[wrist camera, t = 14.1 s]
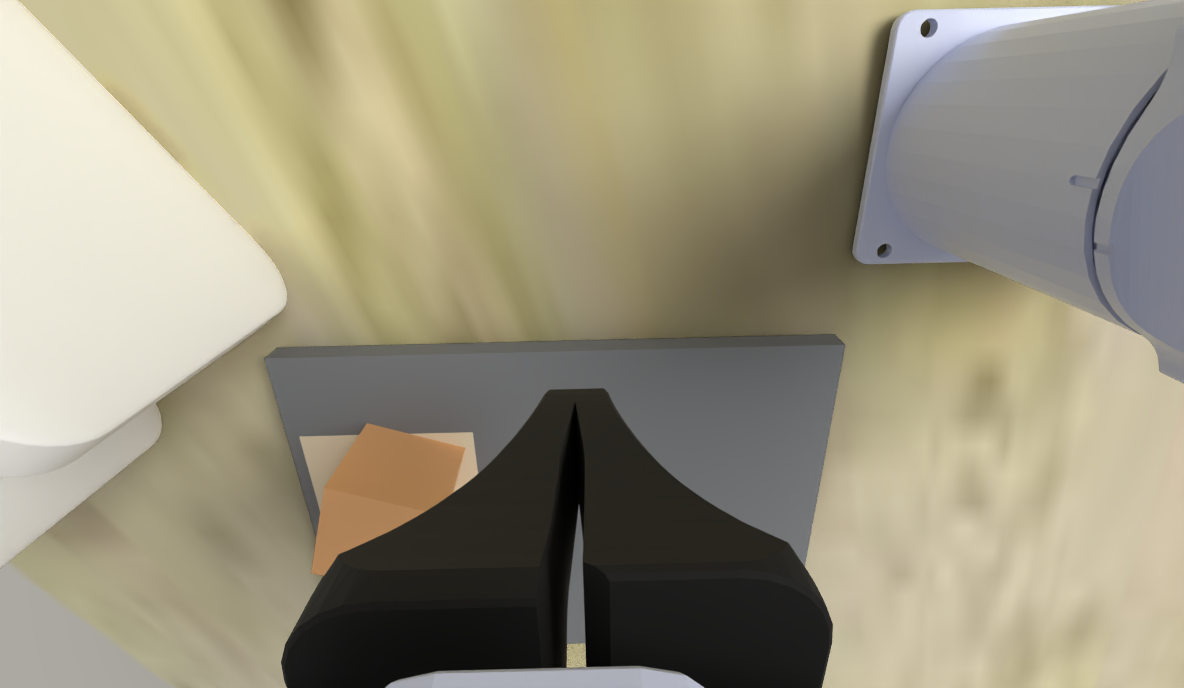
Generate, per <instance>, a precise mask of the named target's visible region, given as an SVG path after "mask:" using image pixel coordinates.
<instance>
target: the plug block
mask: <svg viewBox="0 0 1184 688" xmlns="http://www.w3.org/2000/svg"><path fill="white" fill-rule="evenodd" d="M464 451H465V448H464V447H460V446H456V445H452V444H448V443H444V442H440V441H436V440H432V439H428V438H424V437H420V436H416V435H412V434H408V433H404V432H401V431H397V430H393V429H389V428H385V427H381V426H377V425H373V424H369V423H367V424H366V425H365V427H364V428H363V430H362V431H361V433H360V434H359V436H358V437H357V439H356V440H355V442H354V443H353V445H352V446H351V448H350V449H349V451H348V452H347V454H346V455H345V457H344V458H343V460H342V461H341V463H340V464H339V466H338V467H337V469H336V470H335V472H334V473H333V475H332V476H331V478H330V479H329V481H328V482H327V484H326V485H325V487H324V491H323V498H322V504H321V511H320V517H319V524H318V531H317V537H316V544H315V551H314V557H313V564H312V571H311V573H313V574H318V575H323V576H324V575H325V574H326V572H327V571H328V569H329V568H330V566H331V565H332V564H333V562H334V560H335V559H336V557H337V556H338V554H340V553H343V552H345V551H348V550H350V549H352V548H354V547H356V546H359V545H361V544H363V543H365V542H367V541H370V540H372V539H374V538H376V537H378V536H381V535H383V534H385V533H387V532H389V531H391V530H393V529H395V528H397V527H399V526H401V525H402V524H404V523H406V522H408V521H410V520H411V519H413V518H415V517H417V516H419V515H420V514H422V513H424V512H425V511H427V510H428V509H430V508H432V507H433V506H435V505H436V504H438V503H439V502H441V501H442V500H444V499H445V498H447V497H448V496H449V495H451V494H452V493H453V492H454V489H455V485H456V481H457V477H458V474H459V470H460V466H461V463H462V459H463V455H464Z"/></svg>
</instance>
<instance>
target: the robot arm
mask: <svg viewBox="0 0 1184 688" xmlns="http://www.w3.org/2000/svg"><path fill="white" fill-rule="evenodd" d="M925 20H927V21H928V22H929V23H930V31H929V34H928V35H927V36H926V37H923V36H922V35H921V32H920V28H921V25H922V23H923V22H924V21H925ZM882 244H886V250H885V252H884V253H882V254H881V255H877V250H878V248H879V247H880V246H881V245H882ZM852 250H853V256H854V258H855V259H856V260H858V261H859V262H861V263H863V264H901V263H944V262H971V263H974V264H976V265H978V266H981V267H983V268H985V269H988V270H990V271H992V272H995V273H997V274H999V275H1002V276H1004V277H1006V278H1009V279H1011V280H1013V281H1016V282H1018V283H1020V284H1023V285H1025V286H1027V287H1030V288H1032V289H1034V290H1037V291H1039V292H1041V293H1044V294H1046V295H1049V296H1051V297H1053V298H1056V299H1058V300H1060V301H1063V302H1065V303H1067V304H1070V305H1072V306H1074V307H1077V308H1079V309H1081V310H1084V311H1086V312H1088V313H1091V314H1093V315H1095V316H1098V317H1100V318H1102V319H1105V320H1107V321H1109V322H1112V323H1114V324H1116V325H1119V326H1121V327H1123V328H1126V329H1128V330H1130V331H1133V332H1135V333H1137V334H1140V335H1142V336H1143V337H1145V338H1146V339H1147V340H1149V341H1150V342H1151V344H1152V345H1153V347H1154V348H1155V350H1156V353H1157V355H1158V361H1159V371H1160V372H1161V373H1163V374H1165V375H1167V376H1169V377H1171V378H1173V379H1175V380H1178V381H1180V382H1182V383H1184V0H1150V1H1144V2H1138V3H1132V4H1126V5H1110V6H1064V7H1018V8H972V9H926V10H912V11H908V12H904V13H903V14H901V15H900V16H898V17H897V19H896V20H895V21H894V23H893V25H892V28H891V32H890V38H889V44H888V50H887V55H886V61H885V67H884V72H883V78H882V84H881V89H880V95H879V101H878V106H877V112H876V118H875V124H874V129H873V135H872V141H871V146H870V152H869V158H868V163H867V169H866V175H865V181H864V186H863V192H862V198H861V203H860V209H859V215H858V220H857V226H856V232H855V238H854V243H853V249H852ZM579 507H580V516H581V526H582V535H583V587H584V614H585V642H586V667H576V668H566V662H567V610H568V596H569V585H570V577H571V568H572V560H573V551H574V543H575V534H576V526H577V517H578V508H579ZM832 630H833V624H832V621H831V618H830V615H829V613H828V610H827V607H826V605H825V603H824V600H823V598H822V596H821V594H820V592H819V590H818V588H817V586H816V584H815V583H814V581H813V579H812V578H811V576H810V575H809V573H808V571H807V570H806V568H805V567H804V565H803V563H802V562H801V560H800V559H799V557H798V556H797V554H796V553H795V551H794V550H793V548H792V547H791V545H790V544H789V543H788V542H786V541H784V540H782V539H779V538H777V537H775V536H773V535H771V534H768V533H766V532H764V531H762V530H759V529H757V528H755V527H753V526H751V525H748V524H746V523H744V522H742V521H740V520H739V519H737V518H735V517H733V516H731V515H730V514H728V513H726V512H724V511H722V510H721V509H719V508H717V507H716V506H714V505H712V504H711V503H709V502H708V501H706V500H705V499H703V498H702V497H700V496H699V495H697V494H696V493H695V492H693V491H692V490H690V489H689V488H688V487H686V486H685V485H683V484H682V483H681V482H680V481H678V480H677V479H676V478H675V477H674V476H672V475H671V474H670V473H669V472H668V471H667V470H666V469H665V468H664V467H663V466H662V465H661V464H660V463H659V462H658V461H657V460H656V459H655V458H654V457H653V456H652V455H651V454H650V453H649V452H648V451H647V449H646V448H645V447H644V446H643V445H642V444H641V442H640V441H639V440H638V439H637V438H636V436H635V435H634V434H633V432H632V431H631V430H630V428H629V427H628V426H627V424H626V423H625V421H624V420H623V419H622V417H621V416H620V414H619V412H618V411H617V409H616V407H615V406H614V404H613V402H612V400H611V398H610V396H609V393H608V392H607V391H606V390H605V389H604V388H594V389H552V390H548V391H547V392H546V393H545V394H544V396H543V398H542V399H541V401H540V402H539V404H538V405H537V407H536V408H535V410H534V411H533V413H532V414H531V416H530V417H529V418H528V420H527V421H526V422H525V423H524V425H523V426H522V427H521V429H520V430H519V431H518V432H517V434H516V435H515V436H514V437H513V439H512V440H511V441H510V442H509V443H508V444H507V445H506V446H505V447H504V448H503V450H502V451H501V452H500V453H499V454H498V455H497V456H496V457H495V458H494V459H493V460H492V461H491V462H490V463H489V464H488V465H487V466H486V467H485V468H484V469H483V470H482V471H481V472H479V473H478V474H477V475H476V476H475V477H474V478H472V479H471V480H470V481H469V482H467V483H466V484H465V485H463V486H462V487H461V488H459V489H458V490H456V491H455V492H454V493H452V494H451V495H449V496H448V497H447V498H445V499H444V500H442V501H441V502H439V503H438V504H436V505H435V506H433V507H432V508H430V509H428V510H427V511H425V512H424V513H422V514H420V515H419V516H417V517H415V518H413V519H411V520H410V521H408V522H406V523H404V524H402V525H401V526H399V527H397V528H395V529H393V530H391V531H389V532H387V533H385V534H383V535H381V536H378V537H376V538H374V539H372V540H370V541H367V542H365V543H363V544H361V545H359V546H356V547H354V548H352V549H350V550H348V551H345V552H343V553H340V554H338V556H337V557H336V559H335V560H334V562H333V564H332V565H331V566H330V568H329V569H328V571H327V572H326V574H325V575H324V576H323V578H322V579H321V581H320V583H319V584H318V586H317V588H316V589H315V591H314V593H313V594H312V596H311V598H310V600H309V602H308V603H307V605H306V607H305V609H304V611H303V613H302V615H301V616H300V618H299V620H298V622H297V624H296V626H295V627H294V629H293V631H292V633H291V635H290V637H289V638H288V640H287V642H286V644H285V648H284V652H283V657H282V661H281V664H282V670H283V676H284V681H285V684H286V686H287V688H822V684H823V680H824V676H825V671H826V667H827V662H828V658H829V654H830V649H831V645H832Z"/></svg>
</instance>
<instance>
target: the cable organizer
mask: <svg viewBox="0 0 1184 688" xmlns="http://www.w3.org/2000/svg"><path fill="white" fill-rule="evenodd" d="M286 303H287V290H286V287H285V283H284V281H283V278H282V276H281V274H280V272H279V271H278V269H277V267H276V266H275V264H274V263H273V261H272V260H271V259H270V257H269V256H268V255H267V253H266V252H265V251H264V250H263V249H262V248H261V247H260V246H259V244H258V243H257V242H256V241H255V240H254V239H253V238H252V237H251V236H250V235H249V234H248V233H247V232H246V231H245V230H244V229H243V228H242V227H241V226H240V225H239V224H238V223H237V222H236V221H235V220H234V219H233V218H232V217H231V216H230V215H229V214H228V213H227V212H226V211H225V210H224V209H223V208H222V207H221V206H220V205H219V204H218V203H217V202H216V201H215V200H214V199H213V198H212V197H211V196H210V195H209V194H208V193H207V192H206V190H205V189H204V188H203V187H202V186H201V185H200V184H199V183H198V182H197V181H196V180H195V179H194V178H193V177H192V176H191V175H190V174H189V173H188V172H187V171H186V170H185V169H184V168H183V167H182V166H181V165H180V164H179V163H178V162H177V161H176V160H175V159H174V158H173V157H172V156H171V155H170V154H169V153H168V152H167V151H166V150H165V149H164V148H163V147H162V146H161V145H160V144H159V143H158V142H157V141H156V140H155V139H154V138H153V137H152V136H151V135H150V134H149V133H148V131H147V130H146V129H145V128H144V127H143V126H142V125H141V124H140V123H139V122H138V121H137V120H136V119H135V118H134V117H133V116H132V115H131V114H130V113H129V112H128V111H127V110H126V109H125V108H124V107H123V106H122V105H121V104H120V103H119V102H118V101H117V100H116V99H115V98H114V97H113V96H112V95H111V94H110V93H109V92H108V91H107V90H106V89H105V88H104V87H103V86H102V85H101V84H100V83H99V82H98V81H97V80H96V79H95V78H94V77H93V76H92V75H91V73H90V72H89V71H88V70H87V69H86V68H85V67H84V66H83V65H82V64H81V63H80V62H79V61H78V60H77V59H76V58H75V57H74V56H73V55H72V54H71V53H70V52H69V51H68V50H67V49H66V48H65V47H64V46H63V45H62V44H61V43H60V42H59V41H58V40H57V39H56V38H55V37H54V36H53V35H52V34H51V33H50V32H49V31H48V30H47V29H46V28H45V27H44V26H43V25H42V24H41V23H40V22H39V21H38V20H37V19H36V18H35V17H34V16H33V14H32V13H31V12H30V11H29V10H28V9H27V8H26V7H25V6H24V5H23V4H22V3H21V2H20V1H19V0H0V568H1V567H3V566H4V565H5V564H7V563H8V562H9V561H10V560H11V559H13V558H14V557H15V556H16V555H18V554H19V553H20V552H21V551H23V550H24V549H25V548H26V547H28V546H29V545H30V544H31V543H33V542H34V541H35V540H36V539H38V538H39V537H40V536H41V535H42V534H44V533H45V532H46V531H47V530H49V529H50V528H51V527H52V526H54V525H55V524H56V523H57V522H59V521H60V520H61V519H62V518H64V517H65V516H66V515H67V514H68V513H70V512H71V511H72V510H73V509H75V508H76V507H77V506H78V505H80V504H81V503H82V502H83V501H85V500H86V499H87V498H88V497H90V496H91V495H92V494H93V493H94V492H96V491H97V490H98V489H99V488H101V487H102V486H103V485H104V484H106V483H107V482H108V481H109V480H111V479H112V478H113V477H114V476H116V475H117V474H118V473H119V472H120V471H122V470H123V469H124V468H125V467H127V466H128V465H129V464H130V463H132V462H133V461H134V460H135V459H137V458H138V457H139V456H140V455H142V454H143V453H144V452H145V451H147V450H148V449H149V448H150V447H151V446H153V445H154V444H155V443H156V441H157V440H158V438H159V436H160V434H161V430H162V419H161V415H160V412H159V409H158V407H157V405H156V403H157V402H158V401H159V400H161V399H162V398H164V397H165V396H166V395H168V394H169V393H171V392H172V391H173V390H175V389H176V388H178V387H179V386H180V385H182V384H183V383H185V382H186V381H187V380H189V379H190V378H192V377H193V376H194V375H196V374H197V373H199V372H200V371H201V370H203V369H204V368H206V367H207V366H208V365H210V364H211V363H213V362H214V361H215V360H217V359H218V358H220V357H221V356H222V355H224V354H225V353H227V352H228V351H229V350H231V349H232V348H234V347H235V346H236V345H238V344H239V343H241V342H242V341H243V340H245V339H246V338H248V337H249V336H250V335H252V334H253V333H255V332H256V331H257V330H258V329H260V328H261V327H262V326H263V325H265V324H266V323H267V322H268V321H270V320H271V319H272V318H273V317H275V316H276V315H277V314H278V313H280V312H281V311H282V310H283V309H284V308H285V305H286Z"/></svg>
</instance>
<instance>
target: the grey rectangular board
mask: <svg viewBox="0 0 1184 688" xmlns="http://www.w3.org/2000/svg"><path fill="white" fill-rule="evenodd" d="M844 349H845V344H844V343H843V342H842V341H841V340H840V339H839V338H838V337H837V336H836V335H835V334H829V335H787V336H745V337H703V338H661V339H619V340H577V341H535V342H493V343H451V344H409V345H367V346H325V347H282V348H276V349H275V350H274V351H273V352H272V353H270V354H269V355H268V356H267V357H265V358H264V360H265V363H266V367H267V370H268V374H269V377H270V381H271V384H272V387H273V391H274V394H275V398H276V401H277V405H278V408H279V411H280V415H281V418H282V422H283V425H284V429H285V432H286V435H287V439H288V442H289V446H290V449H291V453H292V456H293V459H294V463H295V466H296V470H297V473H298V477H299V480H300V483H301V487H302V490H303V494H304V497H305V501H306V504H307V507H308V511H309V514H310V518H311V521H312V525H313V528H314V531H315V535H316V537H317V531H318V524H319V517H320V511H321V504H322V498H323V491H324V487H325V485H326V484H327V482H328V481H329V479H330V478H331V476H332V475H333V473H334V472H335V470H336V469H337V467H338V466H339V464H340V463H341V461H342V460H343V458H344V457H345V455H346V454H347V452H348V451H349V449H350V448H351V446H352V445H353V443H354V442H355V440H356V439H357V437H358V436H359V434H360V433H361V431H362V430H363V428H364V427H365V425H366V424H367V423H369V424H373V425H377V426H381V427H385V428H389V429H393V430H397V431H401V432H404V433H408V434H412V435H416V436H420V437H424V438H428V439H432V440H436V441H440V442H444V443H448V444H452V445H456V446H460V447H464V448H465V451H464V455H463V459H462V463H461V466H460V470H459V474H458V477H457V481H456V485H455V489H454V492H455V491H456V490H458V489H459V488H461V487H462V486H463V485H465V484H466V483H467V482H469V481H470V480H471V479H472V478H474V477H475V476H476V475H477V474H478V473H479V472H481V471H482V470H483V469H484V468H485V467H486V466H487V465H488V464H489V463H490V462H491V461H492V460H493V459H494V458H495V457H496V456H497V455H498V454H499V453H500V452H501V451H502V450H503V448H504V447H505V446H506V445H507V444H508V443H509V442H510V441H511V440H512V439H513V437H514V436H515V435H516V434H517V432H518V431H519V430H520V429H521V427H522V426H523V425H524V423H525V422H526V421H527V420H528V418H529V417H530V416H531V414H532V413H533V411H534V410H535V408H536V407H537V405H538V404H539V402H540V401H541V399H542V398H543V396H544V394H545V393H546V392H547V391H548V390H552V389H594V388H604V389H605V390H606V391H607V392H608V393H609V396H610V398H611V400H612V402H613V404H614V406H615V407H616V409H617V411H618V412H619V414H620V416H621V417H622V419H623V420H624V421H625V423H626V424H627V426H628V427H629V428H630V430H631V431H632V432H633V434H634V435H635V436H636V438H637V439H638V440H639V441H640V442H641V444H642V445H643V446H644V447H645V448H646V449H647V451H648V452H649V453H650V454H651V455H652V456H653V457H654V458H655V459H656V460H657V461H658V462H659V463H660V464H661V465H662V466H663V467H664V468H665V469H666V470H667V471H668V472H669V473H670V474H671V475H672V476H674V477H675V478H676V479H677V480H678V481H680V482H681V483H682V484H683V485H685V486H686V487H688V488H689V489H690V490H692V491H693V492H695V493H696V494H697V495H699V496H700V497H702V498H703V499H705V500H706V501H708V502H709V503H711V504H712V505H714V506H716V507H717V508H719V509H721V510H722V511H724V512H726V513H728V514H730V515H731V516H733V517H735V518H737V519H739V520H740V521H742V522H744V523H746V524H748V525H751V526H753V527H755V528H757V529H759V530H762V531H764V532H766V533H768V534H771V535H773V536H775V537H777V538H779V539H782V540H784V541H786V542H788V543H789V544H790V545H791V547H792V548H793V550H794V551H795V553H796V554H797V556H798V557H799V559H800V560H801V562H802V563H803V565H804V567H805V562H806V556H807V551H808V546H809V540H810V535H811V529H812V524H813V518H814V513H815V507H816V502H817V496H818V491H819V486H820V480H821V475H822V469H823V464H824V458H825V453H826V447H827V442H828V436H829V431H830V426H831V420H832V415H833V409H834V404H835V398H836V393H837V387H838V382H839V376H840V371H841V366H842V360H843V355H844ZM454 492H453V493H454ZM576 643H586V642H585V614H584V587H583V535H582V526H581V516H580V507H579V508H578V517H577V526H576V534H575V543H574V551H573V560H572V568H571V577H570V585H569V596H568V610H567V644H576Z"/></svg>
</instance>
